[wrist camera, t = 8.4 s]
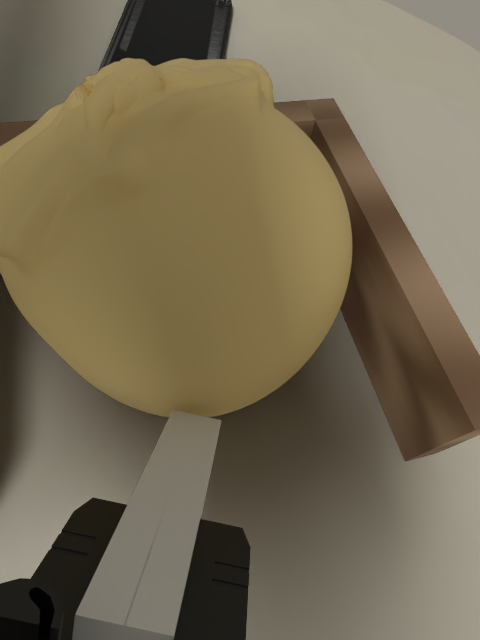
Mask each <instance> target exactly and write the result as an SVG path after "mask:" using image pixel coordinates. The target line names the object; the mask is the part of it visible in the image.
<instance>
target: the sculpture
mask: <svg viewBox="0 0 480 640" xmlns="http://www.w3.org/2000/svg"><path fill="white" fill-rule="evenodd" d="M351 263H352V230H351V222H350V217H349V212H348V208H347V204H346V200H345V197H344V194H343V192H342V189H341V187H340V184H339V182H338V180H337V178H336V176H335V174H334V172H333V170H332V169H331V167H330V165H329V163H328V162H327V160H326V159H325V157H324V156H323V154H322V153H321V152H320V150H319V149H318V148H317V146H316V145H315V144H314V143H313V141H312V140H311V139H310V138H309V137H308V136H307V135H306V134H305V133H304V132H303V131H302V130H301V129H300V128H299V127H298V126H297V125H296V124H295V123H294V122H293V121H291V120H290V119H289V118H288V117H286V116H285V115H284V114H282V113H281V112H280V111H278V110H277V109H275V108H274V105H273V86H272V82H271V79H270V77H269V74H268V72H267V70H266V69H265V68H264V67H263V66H261V65H259V64H258V63H256V62H254V61H251V60H247V59H209V60H192V59H186V58H179V59H174V60H171V61H167V62H165V63H162V64H159V65H157V66H152V65H150V64H149V63H148V62H147V61H146V60H144V59H132V58H125V59H122V60H120V61H118V62H114V63H111V64H110V65H107V66H105V67H103V68H102V69H101V70H99V71H98V72H97V73H96V74H94V75H88V76H87V77H86V81H85V82H84V83H81V85H79V86H78V87H76V88H75V89H74V90H73V92H71V93H70V95H69V96H68V97H67V99H66V101H65V102H63V103H61V104H59V105H56V106H54V107H52V108H51V109H49V110H48V111H47V112H46V113H45V114H44V115H43V116H42V117H41V118H40V119H39V120H38V121H37V122H36V123H35V124H34V125H32V126H31V127H30V128H29V129H27V130H26V131H24V132H23V133H21V134H20V135H18V136H17V137H15V138H13V139H12V140H10V141H8V142H7V143H5V144H3V145H2V146H0V273H1V275H2V277H3V279H4V282H5V285H6V287H7V289H8V291H9V293H10V295H11V297H12V299H13V301H14V303H15V304H16V306H17V307H18V309H19V310H20V312H21V313H22V315H23V316H24V317H25V319H26V320H27V321H28V322H29V324H30V325H31V326H32V327H33V328H34V329H35V330H36V332H37V333H38V334H39V335H40V336H41V337H42V338H43V339H44V340H45V341H46V342H47V343H48V344H49V345H50V346H51V347H52V348H53V349H54V350H55V351H56V352H57V353H58V354H59V355H60V356H61V357H62V358H63V359H64V360H65V361H66V362H67V363H68V364H69V365H70V366H71V367H72V368H73V369H74V370H75V371H76V372H77V373H78V374H79V375H80V376H82V377H83V378H84V379H85V380H86V381H88V382H89V383H90V384H91V385H93V386H94V387H96V388H97V389H98V390H100V391H101V392H103V393H105V394H106V395H108V396H110V397H111V398H113V399H115V400H117V401H119V402H121V403H123V404H125V405H127V406H130V407H132V408H135V409H137V410H140V411H143V412H146V413H150V414H153V415H158V416H163V417H170V414H171V412H172V410H176V411H181V412H185V413H190V414H195V415H200V416H204V417H214V416H219V415H223V414H227V413H230V412H233V411H236V410H239V409H241V408H244V407H246V406H248V405H251V404H253V403H255V402H257V401H258V400H260V399H262V398H264V397H265V396H267V395H269V394H270V393H272V392H273V391H275V390H276V389H277V388H279V387H280V386H281V385H283V384H284V383H285V382H286V381H288V380H289V379H290V378H291V377H292V376H293V375H294V374H295V373H296V372H298V371H299V370H300V369H301V367H302V366H303V365H304V364H305V363H306V362H307V361H308V360H309V359H310V357H311V356H312V355H313V354H314V352H315V351H316V350H317V348H318V347H319V346H320V344H321V343H322V341H323V340H324V338H325V337H326V335H327V333H328V332H329V330H330V328H331V326H332V325H333V323H334V321H335V319H336V317H337V314H338V312H339V310H340V307H341V305H342V302H343V299H344V296H345V293H346V289H347V286H348V281H349V276H350V271H351Z"/></svg>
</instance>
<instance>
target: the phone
mask: <svg viewBox="0 0 480 640" xmlns="http://www.w3.org/2000/svg"><path fill="white" fill-rule="evenodd" d="M231 8H232V2H231V0H128V1H127V4H126V6H125V9H124V11H123V13H122V16H121V18H120V20H119V23H118V25H117V28H116V30H115V32H114V35H113V37H112V39H111V42H110V44H109V47H108V49H107V51H106V54H105V56H104V58H103V61H102V63H101V66H100V68H99V70H101V69H102V68H103V67H105V66H107V65H110V64H111V63H114V62H118V61H120V60H122V59H125V58H132V59H144V60H146V61H147V62H148V63H149V64H150V65H152V66H157V65H159V64H162V63H165V62H167V61H171V60H174V59H179V58H186V59H192V60H209V59H224V54H225V48H226V42H227V36H228V30H229V24H230V18H231ZM99 70H98V71H99Z"/></svg>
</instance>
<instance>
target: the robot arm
mask: <svg viewBox="0 0 480 640" xmlns="http://www.w3.org/2000/svg"><path fill="white" fill-rule="evenodd" d="M221 421H222V420H219V419H214V418H209V417H204V416H200V415H195V414H190V413H185V412H181V411H176V410H172V412H171V414H170V417H169V419H168V421H167V423H166V425H165V427H164V429H163V431H162V433H161V435H160V438H159V440H158V442H157V444H156V446H155V448H154V450H153V452H152V454H151V456H150V459H149V461H148V463H147V465H146V467H145V469H144V471H143V473H142V475H141V477H140V480H139V482H138V484H137V486H136V488H135V490H134V492H133V494H132V496H131V498H130V500H129V503H128V505H125V504H120V503H116V502H111V501H106V500H102V499H97V498H92V499H90V500H89V501H88V502H86V503H85V504H83V505H82V506H81V507H79V508H78V509H77V510H75V511H74V512H73V514H72V515H71V517H70V518H69V520H68V522H67V523H66V525H65V526H64V528H63V529H62V532H61V534H59V536H58V537H57V539H56V540H55V542H54V543H53V545H52V548H51V550H49V551H48V553H47V554H46V556H45V557H44V559H43V560H42V562H41V564H40V565H39V567H38V568H37V570H36V571H35V573H34V574H33V576H32V578H31V579H22V578H20V579H16V580H12V581H9V582H5V583H1V584H0V640H246V621H247V602H248V583H249V564H250V545H249V543H248V540H247V538H246V536H245V533H244V531H243V528H240V527H235V526H230V525H226V524H221V523H216V522H212V521H207V520H202V519H201V517H202V512H203V508H204V503H205V499H206V494H207V489H208V484H209V479H210V474H211V469H212V465H213V460H214V455H215V450H216V445H217V440H218V435H219V431H220V426H221Z"/></svg>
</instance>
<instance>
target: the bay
mask: <svg viewBox="0 0 480 640" xmlns="http://www.w3.org/2000/svg"><path fill="white" fill-rule="evenodd" d="M273 105H274V108H275V109H277V110H278V111H280V112H281V113H282V114H284V115H285V116H286V117H288V118H289V119H290V120H291V121H293V122H294V123H295V124H296V125H297V126H298V127H299V128H300V129H301V130H302V131H303V132H304V133H305V134H306V135H307V136H308V137H309V138H310V139H311V140H312V141H313V143H314V144H315V145H316V146H317V148H318V149H319V150H320V152H321V153H322V154H323V156H324V157H325V159H326V160H327V162H328V163H329V165H330V167H331V169H332V170H333V172H334V174H335V176H336V178H337V180H338V182H339V184H340V187H341V189H342V192H343V194H344V197H345V200H346V204H347V208H348V212H349V217H350V222H351V230H352V263H351V271H350V276H349V281H348V286H347V289H346V293H345V296H344V299H343V302H342V305H341V307H340V309H341V311H342V314H343V316H344V318H345V321H346V323H347V325H348V328H349V330H350V332H351V335H352V337H353V340H354V342H355V344H356V347H357V349H358V351H359V354H360V356H361V358H362V361H363V363H364V365H365V368H366V370H367V373H368V375H369V377H370V380H371V382H372V384H373V387H374V389H375V391H376V394H377V396H378V399H379V401H380V403H381V406H382V408H383V410H384V413H385V415H386V417H387V420H388V422H389V425H390V427H391V429H392V432H393V434H394V436H395V439H396V441H397V443H398V446H399V448H400V451H401V453H402V455H403V458H404V460H405V461H409V460H413V459H416V458H420V457H424V456H427V455H431V454H435V453H438V452H440V451H442V450H445V449H447V448H450V447H452V446H454V445H457V444H459V443H461V442H464V441H466V440H468V439H471V438H473V437H475V436H478V435H480V356H479V354H478V352H477V350H476V349H475V347H474V345H473V343H472V342H471V340H470V338H469V336H468V334H467V333H466V331H465V329H464V327H463V326H462V324H461V322H460V320H459V319H458V317H457V315H456V313H455V312H454V310H453V308H452V306H451V305H450V303H449V301H448V299H447V298H446V296H445V294H444V292H443V290H442V289H441V287H440V285H439V283H438V282H437V280H436V278H435V276H434V275H433V273H432V271H431V269H430V268H429V266H428V264H427V262H426V261H425V259H424V257H423V255H422V253H421V252H420V250H419V248H418V246H417V245H416V243H415V241H414V239H413V238H412V236H411V234H410V232H409V231H408V229H407V227H406V225H405V224H404V222H403V220H402V218H401V216H400V215H399V213H398V211H397V209H396V208H395V206H394V204H393V202H392V201H391V199H390V197H389V195H388V194H387V192H386V190H385V188H384V187H383V185H382V183H381V181H380V180H379V178H378V176H377V174H376V172H375V171H374V169H373V167H372V165H371V164H370V162H369V160H368V158H367V157H366V155H365V153H364V151H363V150H362V148H361V146H360V144H359V143H358V141H357V139H356V137H355V135H354V134H353V132H352V130H351V128H350V127H349V125H348V123H347V121H346V120H345V118H344V116H343V114H342V113H341V111H340V109H339V107H338V106H337V104H336V102H335V100H334V98H331V99H318V100H304V101H291V102H277V103H273ZM37 121H38V120H36V121H23V122H10V123H0V146H2V145H3V144H5V143H7V142H8V141H10V140H12V139H13V138H15V137H17V136H18V135H20V134H21V133H23V132H24V131H26V130H27V129H29V128H30V127H31V126H32V125H34V124H35V123H36V122H37Z"/></svg>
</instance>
